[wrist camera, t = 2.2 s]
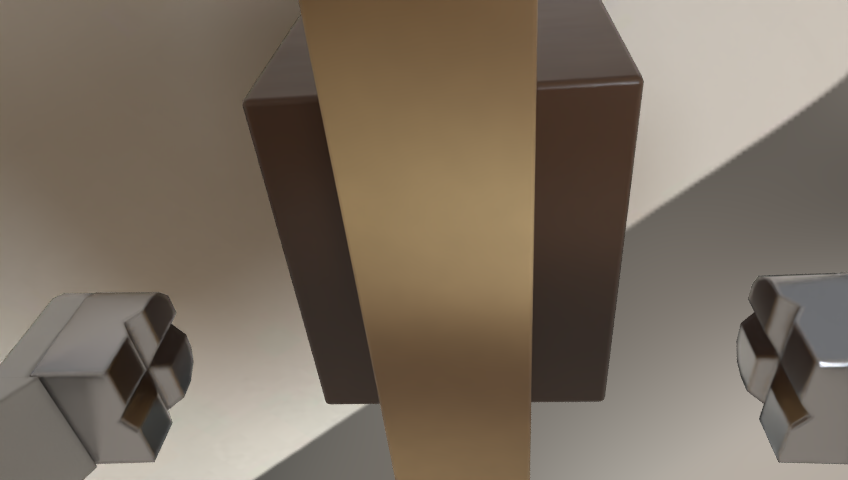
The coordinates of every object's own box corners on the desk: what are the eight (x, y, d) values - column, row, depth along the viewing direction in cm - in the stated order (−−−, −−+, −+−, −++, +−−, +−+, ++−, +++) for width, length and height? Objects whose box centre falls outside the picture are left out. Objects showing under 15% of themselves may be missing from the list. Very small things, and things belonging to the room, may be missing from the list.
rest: (364, -86, 18) (238, 101, 8) (548, -102, 17) (646, 76, 8) (391, 113, 21) (324, 406, 12) (543, 104, 21) (605, 403, 11)
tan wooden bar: (297, -196, 6) (258, -187, 5) (529, -222, 6) (542, -217, 5) (417, 498, 13) (411, 565, 12) (523, 498, 13) (528, 567, 12)
